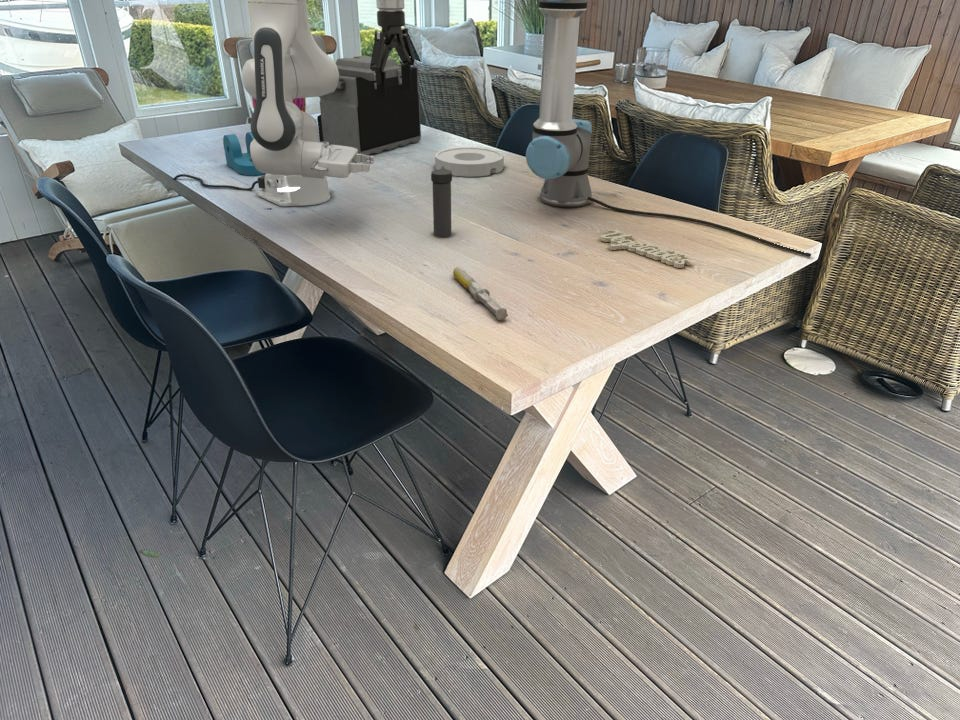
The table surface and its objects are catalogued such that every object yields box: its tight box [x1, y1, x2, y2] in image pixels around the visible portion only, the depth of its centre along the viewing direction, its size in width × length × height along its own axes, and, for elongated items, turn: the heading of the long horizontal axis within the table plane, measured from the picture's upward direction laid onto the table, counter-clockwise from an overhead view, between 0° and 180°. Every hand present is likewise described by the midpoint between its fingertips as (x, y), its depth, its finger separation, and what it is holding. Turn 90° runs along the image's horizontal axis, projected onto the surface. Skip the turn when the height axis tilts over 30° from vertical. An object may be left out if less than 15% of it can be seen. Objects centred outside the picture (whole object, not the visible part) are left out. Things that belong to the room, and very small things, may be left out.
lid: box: [430, 169, 453, 184], centre depth 170 cm, size 5×5×2 cm
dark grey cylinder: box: [431, 181, 452, 238], centre depth 173 cm, size 5×5×16 cm
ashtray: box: [434, 146, 505, 178], centre depth 232 cm, size 23×23×4 cm
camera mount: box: [222, 131, 266, 176], centre depth 226 cm, size 18×10×10 cm, turn 35°
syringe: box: [452, 266, 509, 321], centre depth 145 cm, size 25×4×3 cm, turn 21°
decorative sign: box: [600, 229, 691, 269], centre depth 168 cm, size 26×1×10 cm
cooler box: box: [316, 55, 422, 156], centre depth 250 cm, size 37×22×30 cm, turn 144°
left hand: (371, 163), depth 175 cm, fingers open, 8 cm apart
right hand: (394, 93), depth 197 cm, fingers open, 13 cm apart
